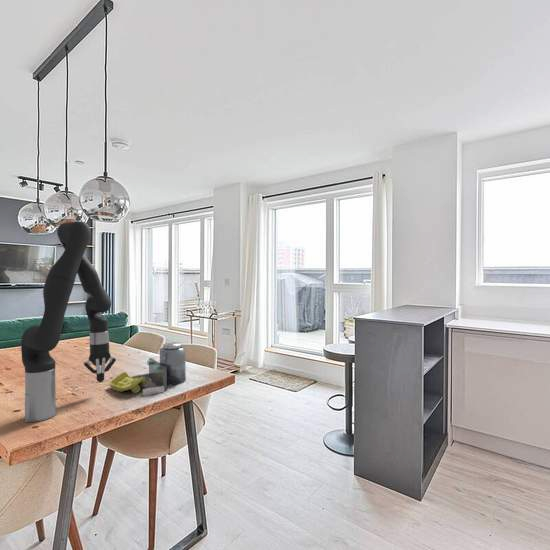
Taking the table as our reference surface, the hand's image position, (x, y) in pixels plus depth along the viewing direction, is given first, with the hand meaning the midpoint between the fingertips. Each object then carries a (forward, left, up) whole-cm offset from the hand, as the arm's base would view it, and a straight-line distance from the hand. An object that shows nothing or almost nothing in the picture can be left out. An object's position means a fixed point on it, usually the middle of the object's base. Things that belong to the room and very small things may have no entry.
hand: (100, 381), depth 147 cm
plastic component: (+11, -1, -6) cm, 13 cm away
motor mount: (+26, 0, -6) cm, 27 cm away
